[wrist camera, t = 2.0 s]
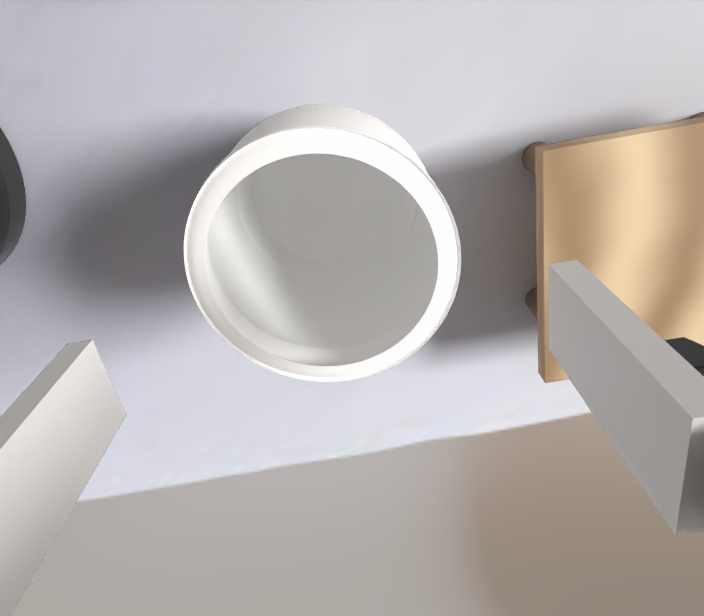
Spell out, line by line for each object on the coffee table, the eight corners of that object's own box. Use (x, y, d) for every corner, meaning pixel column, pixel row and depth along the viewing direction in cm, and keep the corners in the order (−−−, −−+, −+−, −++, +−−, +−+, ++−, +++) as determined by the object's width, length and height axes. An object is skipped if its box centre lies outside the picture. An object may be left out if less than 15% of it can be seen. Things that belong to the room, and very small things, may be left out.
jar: (444, 145, 32) (518, 218, 19) (362, 280, 36) (376, 419, 23) (288, 52, 30) (248, 62, 17) (218, 209, 34) (140, 318, 21)
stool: (511, 327, 38) (545, 383, 32) (503, 129, 32) (543, 151, 26) (708, 295, 38) (781, 346, 31) (739, 86, 31) (839, 98, 25)
